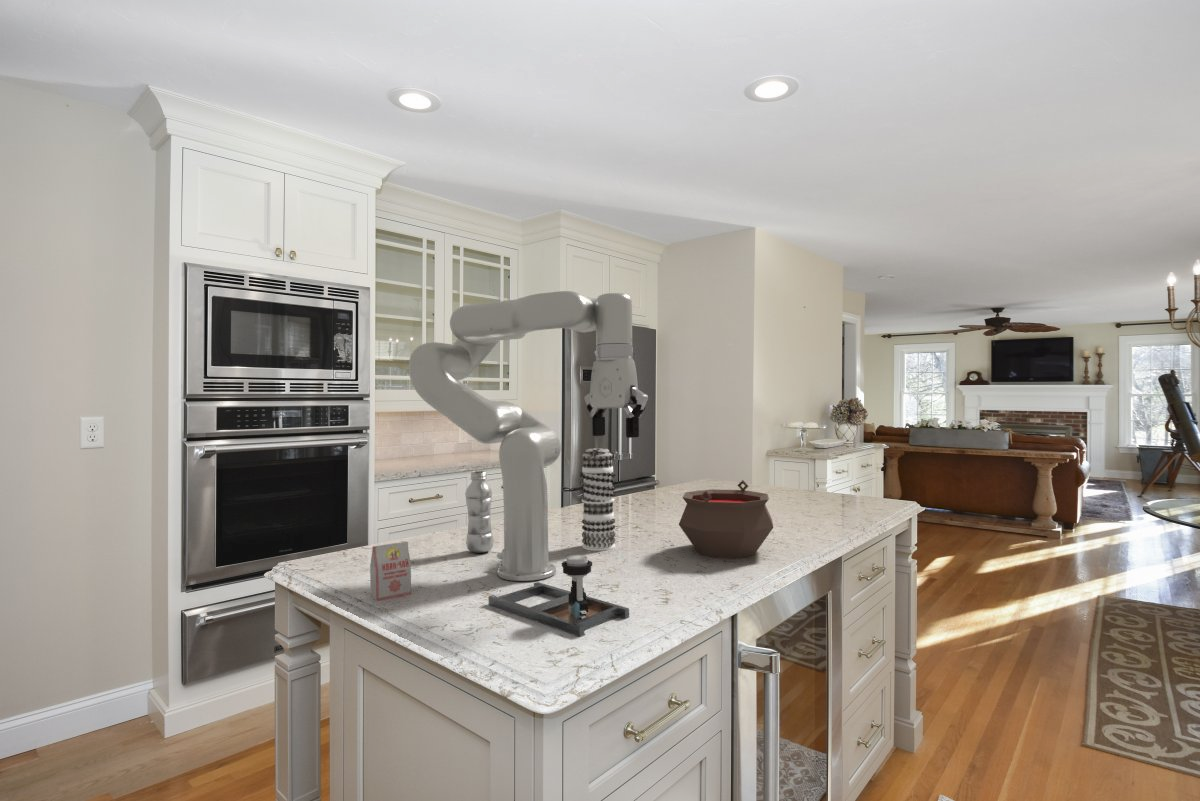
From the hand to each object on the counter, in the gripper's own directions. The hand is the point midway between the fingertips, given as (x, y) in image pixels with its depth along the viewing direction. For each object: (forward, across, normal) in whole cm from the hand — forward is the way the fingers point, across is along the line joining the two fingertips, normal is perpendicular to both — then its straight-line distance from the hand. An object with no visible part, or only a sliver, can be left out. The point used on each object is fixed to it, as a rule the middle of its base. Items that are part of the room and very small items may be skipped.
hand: (615, 436), depth 131 cm
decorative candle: (+30, -24, +18) cm, 43 cm away
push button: (+30, +11, -21) cm, 38 cm away
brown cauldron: (+30, +2, +36) cm, 47 cm away
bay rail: (+30, +5, -21) cm, 37 cm away
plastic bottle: (+30, -42, -6) cm, 52 cm away
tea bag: (+30, -26, -37) cm, 54 cm away
